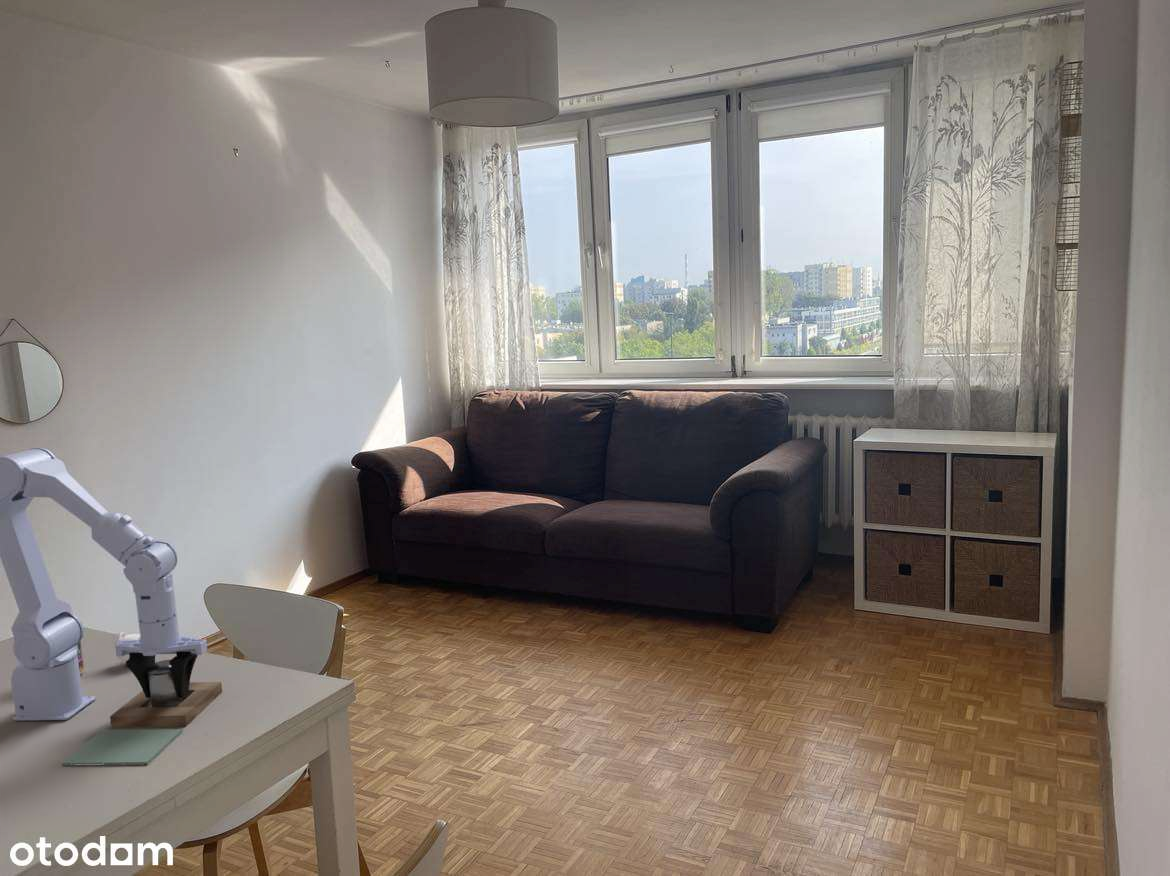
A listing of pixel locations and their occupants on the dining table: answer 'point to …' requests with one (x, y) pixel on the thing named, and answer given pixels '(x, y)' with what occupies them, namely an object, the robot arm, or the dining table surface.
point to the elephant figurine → (126, 638)
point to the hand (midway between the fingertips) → (167, 695)
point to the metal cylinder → (163, 685)
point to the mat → (123, 747)
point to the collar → (166, 708)
